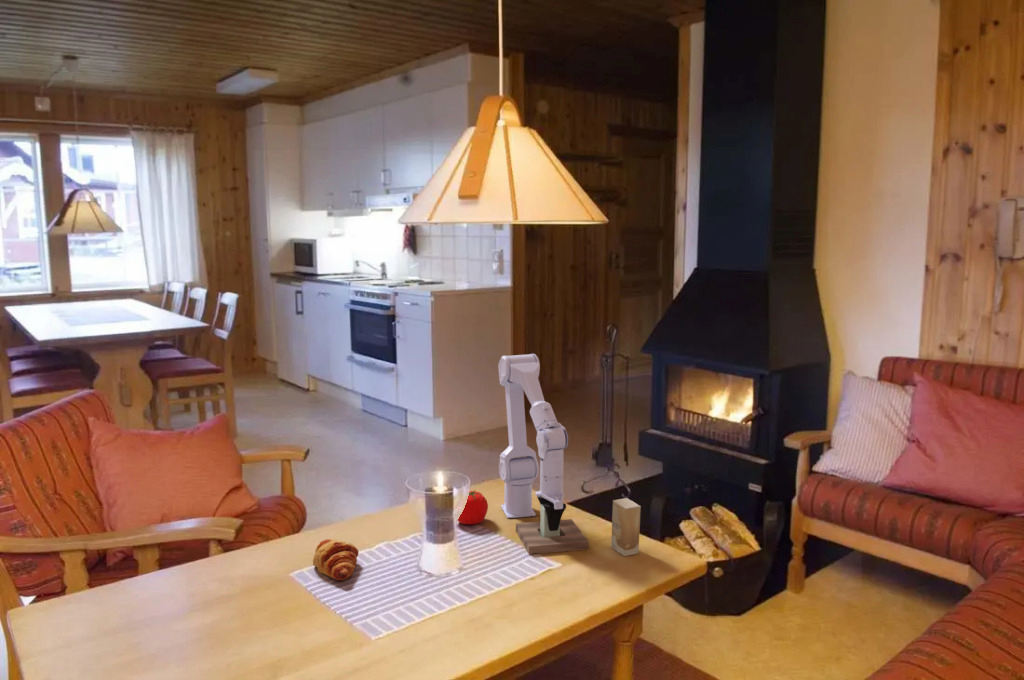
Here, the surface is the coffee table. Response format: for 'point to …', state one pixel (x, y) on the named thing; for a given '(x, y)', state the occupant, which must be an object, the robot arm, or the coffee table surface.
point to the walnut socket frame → (552, 538)
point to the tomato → (474, 509)
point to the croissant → (336, 558)
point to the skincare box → (625, 527)
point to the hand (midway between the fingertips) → (551, 526)
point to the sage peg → (546, 525)
